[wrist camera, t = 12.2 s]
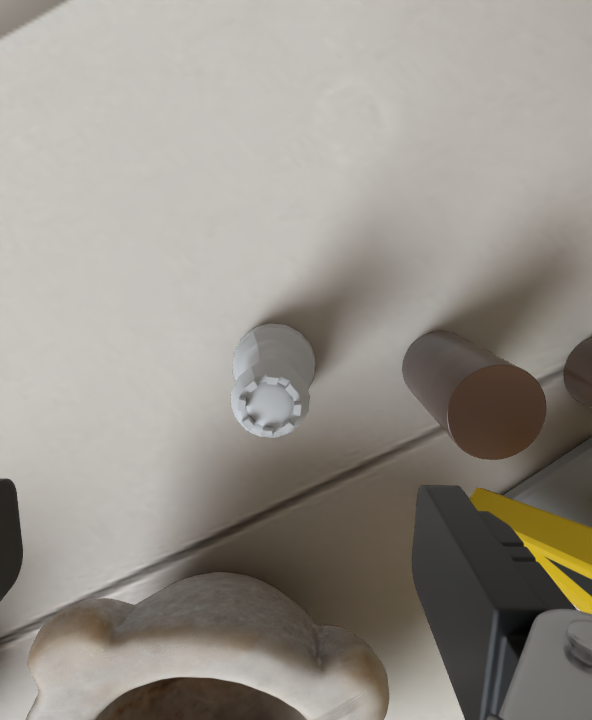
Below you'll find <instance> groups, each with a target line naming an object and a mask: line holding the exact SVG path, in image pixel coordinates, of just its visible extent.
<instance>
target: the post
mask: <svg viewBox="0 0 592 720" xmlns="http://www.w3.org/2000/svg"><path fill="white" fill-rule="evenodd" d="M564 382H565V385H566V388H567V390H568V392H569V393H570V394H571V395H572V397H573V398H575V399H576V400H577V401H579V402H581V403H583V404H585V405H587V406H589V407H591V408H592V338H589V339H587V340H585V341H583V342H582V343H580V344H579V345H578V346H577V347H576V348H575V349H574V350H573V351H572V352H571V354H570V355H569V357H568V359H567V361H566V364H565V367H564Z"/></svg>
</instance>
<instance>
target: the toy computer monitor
mask: <svg viewBox="0 0 592 720" xmlns="http://www.w3.org/2000/svg"><path fill="white" fill-rule="evenodd" d="M470 501H471V502H472V503H473V505H474V506H475V508H476V509H477V510H478V511H489V512H490V513H492V514H493V515H495V516H496V517H498V518H499V519H501V520H502V521H504V522H505V523H507V524H508V525H510V526H511V528H512V529H513V530H514V531H515V533H516V534H517V535H518V536H519V538H520V539H521V540H522V541H523V543H524V547H527V548H528V549H529V550H530V552H531V553H532V554H533V555H534V557H535V558H536V562H539V563H540V564H541V565H542V567H543V568H544V569H545V571H546V572H547V573H548V574H549V576H550V577H551V578H552V579H553V581H554V582H555V583H556V584H557V586H558V587H559V588H560V589H561V591H562V592H563V593H564V595H565V596H566V597H567V598H568V600H569V601H570V602H571V603H573V604H574V605H575V606H576V607H577V608H579V609H580V610H581V611H582V612H586V613H589V614H592V437H591V438H589V439H588V440H586V441H585V442H583V443H582V444H580V445H579V446H577V447H576V448H574V449H573V450H571V451H570V452H568V453H567V454H565V455H563V456H562V457H560V458H559V459H557V460H556V461H554V462H553V463H551V464H550V465H548V466H547V467H545V468H544V469H542V470H541V471H539V472H538V473H536V474H534V475H533V476H531V477H530V478H528V479H527V480H525V481H524V482H522V483H521V484H519V485H518V486H516V487H515V488H513V489H512V490H510V491H509V492H507V493H505V494H504V495H500V494H497V493H494V492H492V491H489V490H486V489H482V488H476V490H475V491H474V493H473V494H472V496H471V497H470Z"/></svg>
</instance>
